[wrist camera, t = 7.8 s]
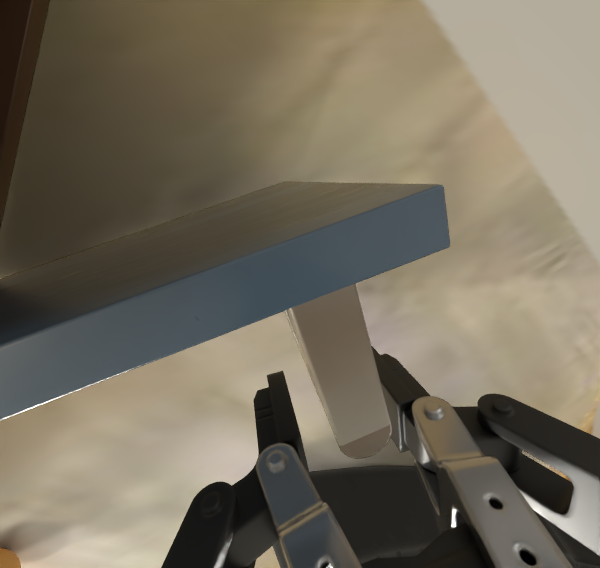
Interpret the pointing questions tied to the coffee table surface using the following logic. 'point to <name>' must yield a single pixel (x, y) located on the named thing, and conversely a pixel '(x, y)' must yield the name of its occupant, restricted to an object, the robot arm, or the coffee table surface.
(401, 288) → the coffee table surface
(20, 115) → the cupboard
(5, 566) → the figurine
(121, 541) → the coffee table surface
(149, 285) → the cupboard door
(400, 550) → the magazine
